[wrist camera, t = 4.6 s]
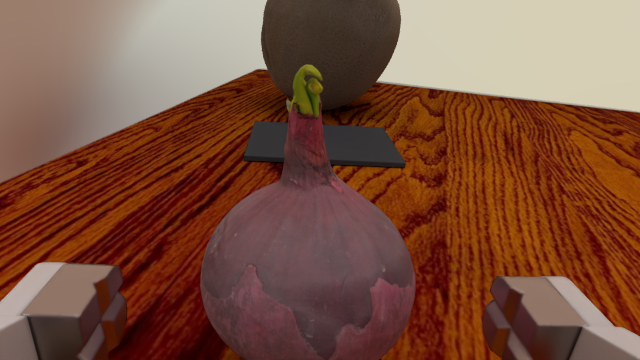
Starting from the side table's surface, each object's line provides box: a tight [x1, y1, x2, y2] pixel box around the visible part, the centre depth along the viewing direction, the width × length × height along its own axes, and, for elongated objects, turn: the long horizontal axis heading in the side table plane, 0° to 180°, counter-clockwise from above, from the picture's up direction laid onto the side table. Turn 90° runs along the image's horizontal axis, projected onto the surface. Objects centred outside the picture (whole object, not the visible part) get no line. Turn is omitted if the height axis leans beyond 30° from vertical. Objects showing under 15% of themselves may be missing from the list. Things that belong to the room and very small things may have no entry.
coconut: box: [261, 0, 401, 110], centre depth 44 cm, size 14×14×15 cm
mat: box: [244, 121, 406, 168], centre depth 35 cm, size 12×9×1 cm
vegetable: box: [200, 65, 415, 360], centre depth 12 cm, size 6×6×10 cm
